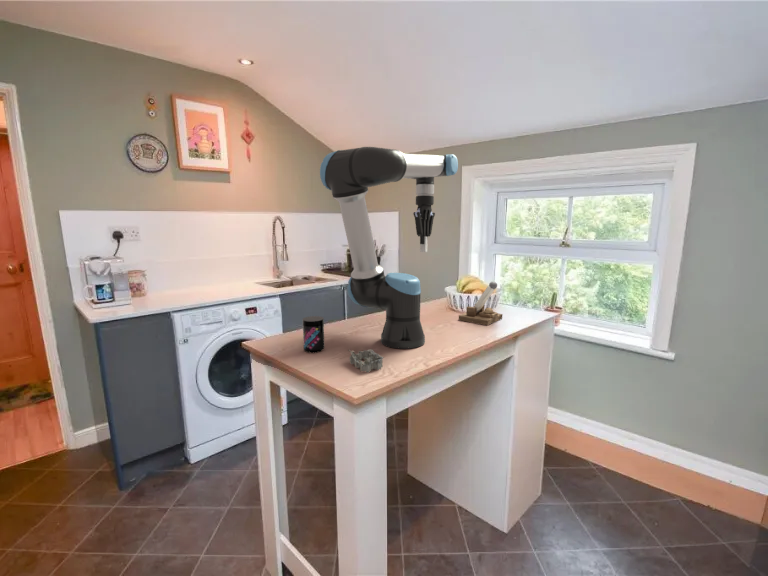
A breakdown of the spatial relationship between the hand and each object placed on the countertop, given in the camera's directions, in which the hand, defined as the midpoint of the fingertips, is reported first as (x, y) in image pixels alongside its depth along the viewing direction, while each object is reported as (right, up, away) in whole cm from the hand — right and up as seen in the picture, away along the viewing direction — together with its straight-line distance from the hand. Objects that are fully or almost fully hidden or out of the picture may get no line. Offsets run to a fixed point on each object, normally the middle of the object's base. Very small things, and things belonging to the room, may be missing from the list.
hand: (423, 251), depth 161 cm
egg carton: (-22, -38, -52) cm, 68 cm away
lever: (+22, -25, -1) cm, 33 cm away
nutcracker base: (+24, -29, -2) cm, 37 cm away
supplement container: (-40, -36, -39) cm, 66 cm away
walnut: (+27, -27, -5) cm, 38 cm away
